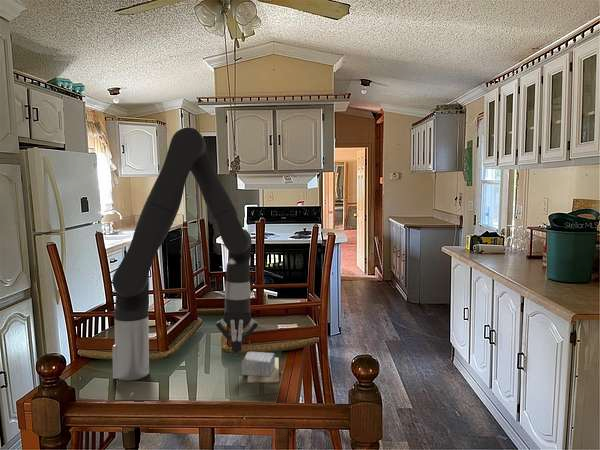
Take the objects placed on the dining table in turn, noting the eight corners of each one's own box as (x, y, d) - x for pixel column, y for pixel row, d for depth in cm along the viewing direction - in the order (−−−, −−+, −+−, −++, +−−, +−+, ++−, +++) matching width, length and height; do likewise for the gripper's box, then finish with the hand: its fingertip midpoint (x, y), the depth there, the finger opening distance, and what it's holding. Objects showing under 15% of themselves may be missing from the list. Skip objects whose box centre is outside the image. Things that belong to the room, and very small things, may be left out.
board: (247, 382, 125) (247, 381, 125) (250, 358, 143) (250, 357, 143) (279, 382, 126) (279, 380, 125) (278, 358, 143) (278, 357, 143)
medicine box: (241, 375, 129) (270, 377, 128) (241, 360, 129) (270, 362, 128) (247, 365, 137) (275, 366, 136) (247, 351, 136) (275, 352, 135)
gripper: (213, 298, 127) (213, 357, 129) (259, 299, 128) (258, 357, 129) (216, 292, 135) (216, 348, 136) (260, 293, 136) (259, 348, 137)
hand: (236, 352), depth 133 cm, fingers closed
